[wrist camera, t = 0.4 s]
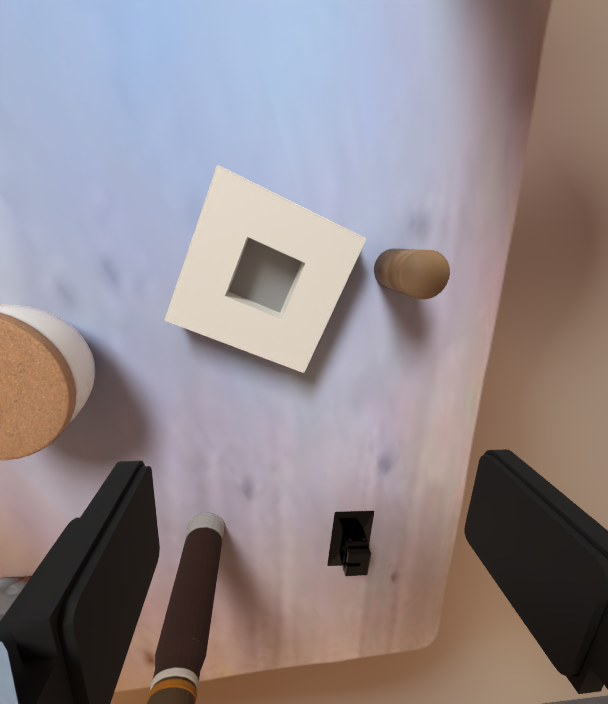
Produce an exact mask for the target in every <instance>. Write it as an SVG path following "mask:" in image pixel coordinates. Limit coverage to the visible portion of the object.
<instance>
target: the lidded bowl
mask: <svg viewBox="0 0 608 704" xmlns="http://www.w3.org/2000/svg"><path fill="white" fill-rule="evenodd" d="M94 379H95V364H94V359H93V355H92V352H91V350H90V348H89V346H88V344H87V343H86V341H85V340H84V338H83V337H82V336H81V335H80V333H79V332H78V331H77V330H76V329H75V328H74V327H72V326H71V325H70V324H69V323H67V322H66V321H64V320H63V319H61V318H60V317H58V316H56V315H53V314H51V313H49V312H46V311H43V310H40V309H37V308H33V307H28V306H22V305H6V304H0V460H11V459H18V458H22V457H25V456H29V455H31V454H33V453H36V452H38V451H40V450H42V449H43V448H45V447H46V446H48V445H49V444H50V443H52V442H53V441H54V440H55V439H56V438H57V437H58V436H59V435H60V434H61V433H62V432H63V431H64V429H65V428H66V426H67V425H68V424H69V423H70V422H71V421H72V420H73V419H74V418H75V417H76V416H77V414H78V413H79V412H80V410H81V409H82V407H83V406H84V405H85V403H86V401H87V399H88V397H89V395H90V393H91V391H92V388H93V384H94Z"/></svg>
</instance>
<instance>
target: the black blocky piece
mask: <svg viewBox="0 0 608 704" xmlns="http://www.w3.org/2000/svg"><path fill="white" fill-rule="evenodd" d="M373 517H374V511H351V512H335V515H334V522H333V529H332V536H331V543H330V551H329V558H328V566H342V567H343V571H344V573H345V576H357V575H367V573H368V568H369V562H370V556H371V552H370V549H369V541H370V535H371V529H372V523H373Z"/></svg>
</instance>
